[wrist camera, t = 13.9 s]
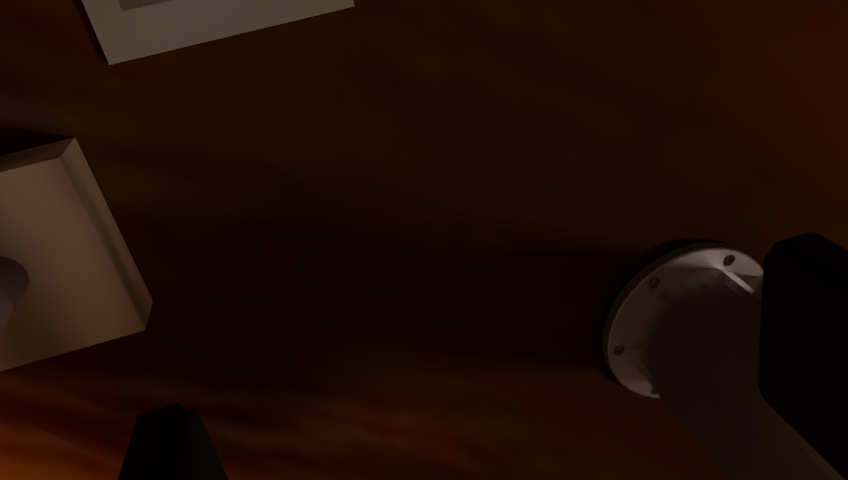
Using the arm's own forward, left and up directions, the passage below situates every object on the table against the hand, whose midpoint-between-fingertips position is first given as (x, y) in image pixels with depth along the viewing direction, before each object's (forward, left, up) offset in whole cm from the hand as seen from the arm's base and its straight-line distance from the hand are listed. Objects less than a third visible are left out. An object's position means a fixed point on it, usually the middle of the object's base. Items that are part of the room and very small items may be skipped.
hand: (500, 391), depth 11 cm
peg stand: (+18, +6, -27) cm, 33 cm away
